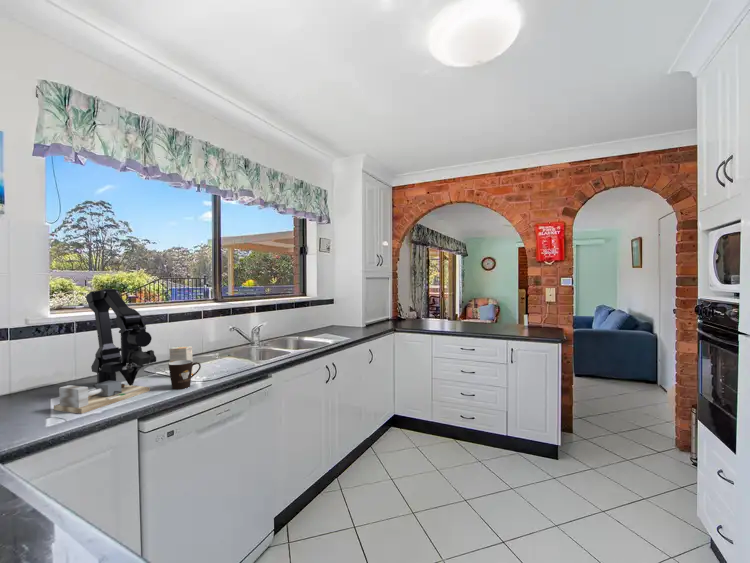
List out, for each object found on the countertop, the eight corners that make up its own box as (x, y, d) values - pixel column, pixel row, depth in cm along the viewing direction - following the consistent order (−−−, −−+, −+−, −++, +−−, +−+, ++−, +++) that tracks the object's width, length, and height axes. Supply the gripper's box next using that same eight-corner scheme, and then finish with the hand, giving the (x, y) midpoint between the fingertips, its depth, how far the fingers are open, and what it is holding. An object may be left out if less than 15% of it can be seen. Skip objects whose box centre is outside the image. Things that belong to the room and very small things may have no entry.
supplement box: (193, 374, 167) (192, 346, 167) (187, 377, 163) (186, 348, 163) (176, 374, 168) (175, 346, 168) (169, 377, 163) (168, 348, 163)
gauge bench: (53, 410, 124) (53, 387, 124) (124, 388, 148) (124, 369, 148) (81, 413, 120) (81, 390, 120) (149, 390, 144) (149, 371, 144)
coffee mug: (168, 391, 142) (167, 365, 142) (169, 386, 150) (168, 361, 150) (202, 387, 147) (201, 362, 147) (201, 382, 155) (200, 358, 155)
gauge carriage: (78, 400, 128) (77, 388, 128) (109, 391, 138) (109, 380, 138) (97, 402, 125) (97, 390, 125) (128, 392, 135) (127, 382, 135)
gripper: (122, 350, 132) (123, 394, 132) (166, 341, 150) (167, 380, 150) (99, 349, 135) (100, 391, 135) (145, 340, 153) (146, 378, 153)
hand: (130, 385), depth 143 cm, fingers closed
